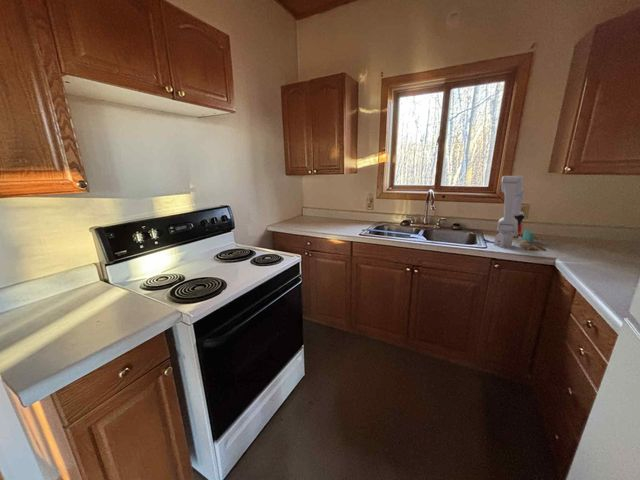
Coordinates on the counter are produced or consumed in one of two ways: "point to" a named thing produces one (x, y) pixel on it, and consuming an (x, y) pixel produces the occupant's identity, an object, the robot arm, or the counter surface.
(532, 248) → the rack
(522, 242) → the offcut
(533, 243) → the stand
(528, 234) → the board
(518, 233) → the soda can
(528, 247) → the offcut
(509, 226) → the robot arm
